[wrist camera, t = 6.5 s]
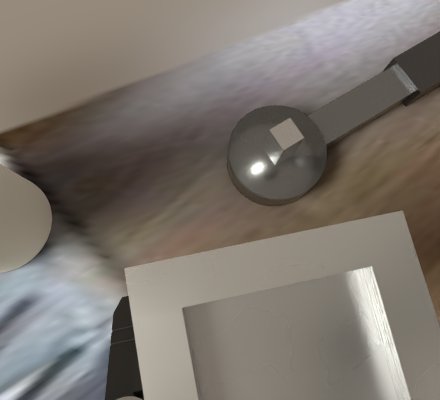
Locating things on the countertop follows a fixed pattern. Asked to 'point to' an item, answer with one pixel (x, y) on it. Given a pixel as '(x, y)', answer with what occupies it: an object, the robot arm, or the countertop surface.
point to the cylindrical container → (21, 220)
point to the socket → (290, 318)
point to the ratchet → (321, 128)
